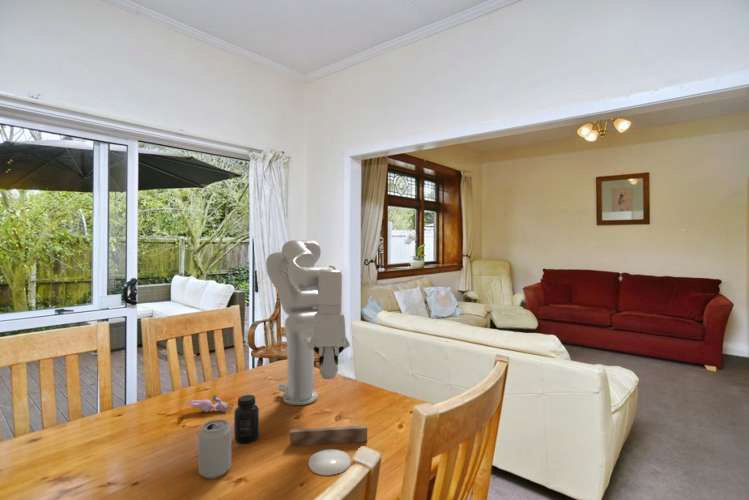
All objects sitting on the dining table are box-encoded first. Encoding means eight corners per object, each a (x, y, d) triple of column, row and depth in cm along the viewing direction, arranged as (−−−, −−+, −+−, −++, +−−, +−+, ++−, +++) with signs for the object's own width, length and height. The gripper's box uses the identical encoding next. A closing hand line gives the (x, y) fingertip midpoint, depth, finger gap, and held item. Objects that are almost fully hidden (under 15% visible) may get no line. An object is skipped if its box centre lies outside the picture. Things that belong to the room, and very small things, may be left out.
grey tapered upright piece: (339, 374, 122) (340, 334, 121) (335, 381, 116) (336, 338, 115) (321, 373, 122) (322, 333, 122) (317, 379, 116) (317, 338, 116)
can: (205, 463, 99) (205, 417, 98) (234, 462, 99) (234, 416, 99) (193, 481, 91) (193, 432, 91) (225, 480, 92) (226, 431, 92)
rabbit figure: (233, 410, 133) (188, 405, 130) (236, 393, 133) (191, 388, 130) (229, 418, 126) (182, 413, 124) (232, 400, 126) (185, 395, 124)
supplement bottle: (263, 434, 113) (263, 395, 113) (248, 446, 107) (249, 404, 107) (244, 430, 116) (244, 391, 115) (229, 441, 109) (229, 400, 109)
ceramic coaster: (300, 470, 96) (300, 469, 96) (319, 448, 106) (319, 446, 106) (341, 478, 93) (341, 477, 93) (356, 454, 103) (356, 453, 103)
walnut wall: (289, 446, 107) (290, 432, 107) (290, 443, 109) (290, 429, 108) (367, 441, 110) (367, 428, 110) (366, 438, 112) (366, 425, 111)
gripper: (302, 311, 113) (301, 372, 114) (356, 311, 116) (355, 370, 116) (303, 307, 121) (302, 364, 121) (354, 306, 123) (353, 362, 124)
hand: (328, 366), depth 119 cm, fingers closed on grey tapered upright piece, 3 cm apart
